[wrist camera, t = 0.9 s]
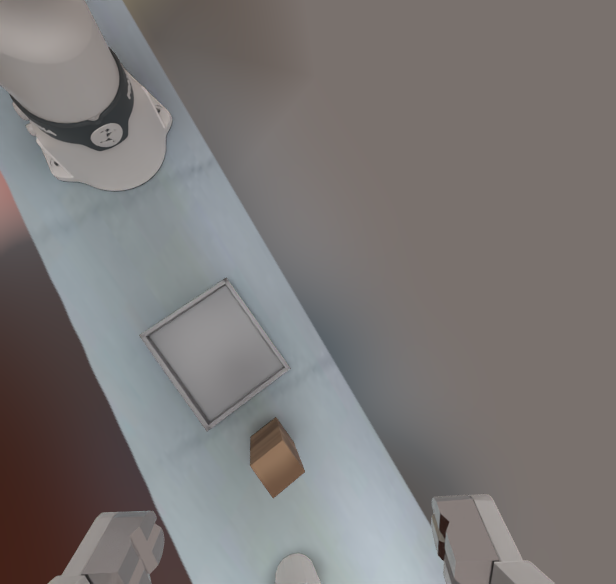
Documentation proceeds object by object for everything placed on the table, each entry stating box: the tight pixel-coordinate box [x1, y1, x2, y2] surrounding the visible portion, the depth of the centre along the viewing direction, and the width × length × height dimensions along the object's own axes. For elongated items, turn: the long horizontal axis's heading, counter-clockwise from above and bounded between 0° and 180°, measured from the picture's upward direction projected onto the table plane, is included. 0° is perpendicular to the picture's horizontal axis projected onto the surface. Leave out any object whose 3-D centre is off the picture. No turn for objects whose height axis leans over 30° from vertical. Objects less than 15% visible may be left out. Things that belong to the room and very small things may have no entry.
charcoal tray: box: [139, 278, 291, 431], centre depth 49 cm, size 16×14×2 cm
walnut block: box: [250, 417, 305, 498], centre depth 45 cm, size 4×4×11 cm
